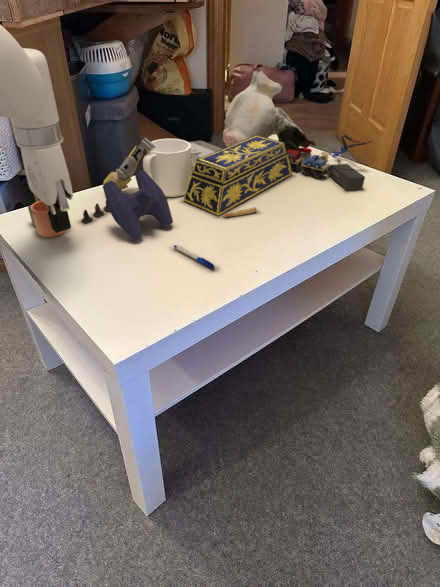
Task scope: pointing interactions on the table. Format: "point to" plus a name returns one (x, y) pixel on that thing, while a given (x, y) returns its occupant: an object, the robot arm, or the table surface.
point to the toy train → (308, 163)
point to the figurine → (137, 204)
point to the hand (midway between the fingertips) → (61, 228)
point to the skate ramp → (201, 150)
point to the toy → (129, 165)
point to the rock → (289, 131)
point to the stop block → (31, 215)
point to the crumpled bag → (251, 111)
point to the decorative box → (237, 173)
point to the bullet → (241, 212)
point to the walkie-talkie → (346, 176)
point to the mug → (169, 165)
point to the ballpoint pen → (195, 257)
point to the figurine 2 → (343, 150)
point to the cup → (43, 220)
